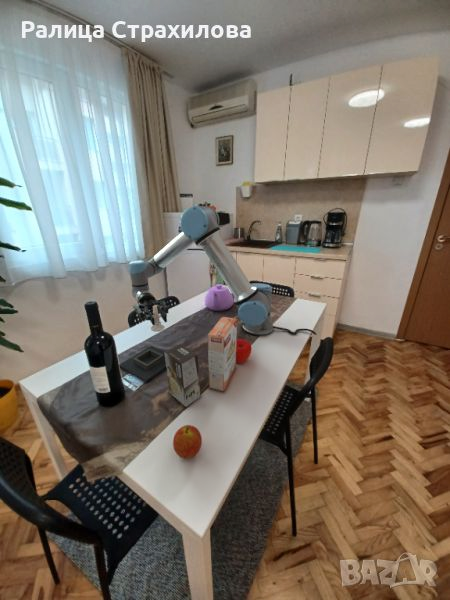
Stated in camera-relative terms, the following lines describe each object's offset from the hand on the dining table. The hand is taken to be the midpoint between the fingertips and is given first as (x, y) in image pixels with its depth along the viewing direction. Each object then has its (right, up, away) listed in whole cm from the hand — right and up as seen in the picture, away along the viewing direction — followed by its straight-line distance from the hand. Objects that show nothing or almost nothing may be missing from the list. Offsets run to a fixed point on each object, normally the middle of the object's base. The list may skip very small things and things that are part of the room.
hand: (159, 320), depth 88 cm
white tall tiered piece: (-3, -4, +7) cm, 8 cm away
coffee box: (+11, -24, -10) cm, 28 cm away
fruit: (+15, -31, -28) cm, 45 cm away
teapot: (+20, +3, +57) cm, 61 cm away
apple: (+30, -17, +7) cm, 35 cm away
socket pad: (-5, -17, +5) cm, 19 cm away
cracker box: (+24, -20, -3) cm, 32 cm away
